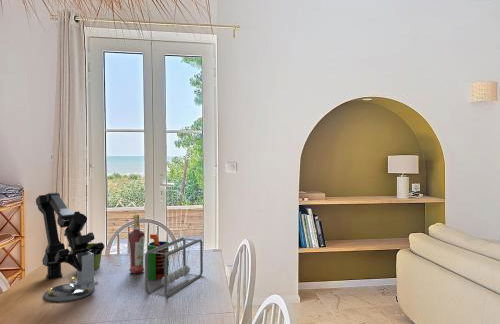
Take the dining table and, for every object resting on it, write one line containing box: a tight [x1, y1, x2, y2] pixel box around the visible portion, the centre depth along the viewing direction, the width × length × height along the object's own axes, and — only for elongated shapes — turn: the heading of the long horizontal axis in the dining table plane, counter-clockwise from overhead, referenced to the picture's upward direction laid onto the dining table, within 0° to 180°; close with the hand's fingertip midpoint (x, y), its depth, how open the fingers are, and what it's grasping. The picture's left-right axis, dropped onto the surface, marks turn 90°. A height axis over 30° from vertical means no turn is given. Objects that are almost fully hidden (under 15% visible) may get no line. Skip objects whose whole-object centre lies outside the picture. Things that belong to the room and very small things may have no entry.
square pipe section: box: [73, 251, 99, 290], centre depth 154 cm, size 9×9×13 cm
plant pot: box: [87, 242, 103, 270], centre depth 189 cm, size 12×12×11 cm
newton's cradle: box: [144, 237, 204, 298], centre depth 165 cm, size 30×10×18 cm, turn 158°
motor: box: [147, 233, 170, 282], centre depth 175 cm, size 10×9×20 cm
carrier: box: [43, 276, 96, 303], centre depth 156 cm, size 19×19×4 cm
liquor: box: [128, 213, 145, 275], centre depth 181 cm, size 7×7×28 cm
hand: (87, 269), depth 153 cm, fingers closed on square pipe section, 5 cm apart
